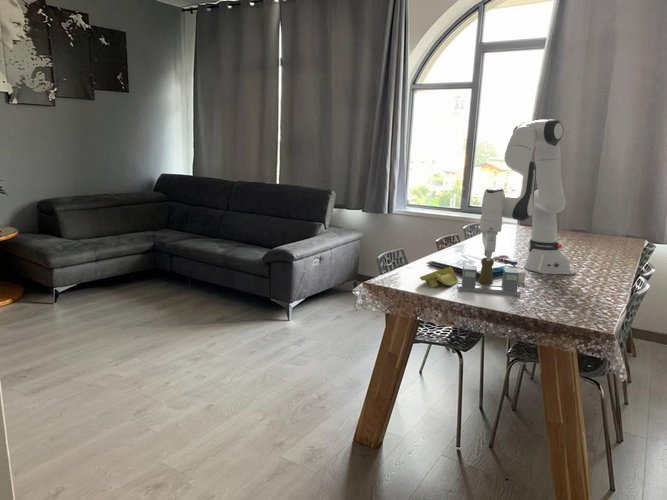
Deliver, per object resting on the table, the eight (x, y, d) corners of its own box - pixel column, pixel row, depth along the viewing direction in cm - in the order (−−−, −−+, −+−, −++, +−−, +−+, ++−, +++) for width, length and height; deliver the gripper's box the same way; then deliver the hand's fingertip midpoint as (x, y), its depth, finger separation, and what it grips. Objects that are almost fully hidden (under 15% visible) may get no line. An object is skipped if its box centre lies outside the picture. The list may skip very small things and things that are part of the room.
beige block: (519, 280, 219) (520, 269, 218) (524, 283, 214) (525, 272, 213) (510, 280, 219) (511, 269, 218) (515, 283, 214) (516, 272, 213)
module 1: (474, 284, 205) (475, 265, 204) (475, 289, 198) (476, 270, 197) (461, 283, 206) (463, 264, 205) (462, 288, 199) (464, 269, 198)
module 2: (514, 287, 202) (516, 268, 200) (516, 292, 195) (518, 273, 193) (501, 286, 203) (503, 267, 201) (503, 291, 196) (505, 272, 194)
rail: (517, 291, 202) (518, 286, 202) (520, 296, 195) (520, 291, 195) (457, 286, 207) (458, 282, 207) (458, 291, 200) (458, 286, 200)
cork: (492, 281, 215) (495, 257, 213) (492, 285, 210) (495, 260, 207) (478, 280, 217) (480, 256, 215) (477, 283, 212) (480, 258, 209)
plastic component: (433, 272, 220) (453, 265, 215) (438, 287, 220) (459, 281, 214) (415, 278, 204) (437, 271, 198) (421, 295, 203) (443, 289, 198)
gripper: (501, 231, 198) (497, 264, 201) (496, 223, 217) (492, 253, 220) (484, 229, 199) (481, 263, 202) (481, 222, 218) (478, 252, 222)
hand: (487, 258), depth 211 cm, fingers open, 8 cm apart
